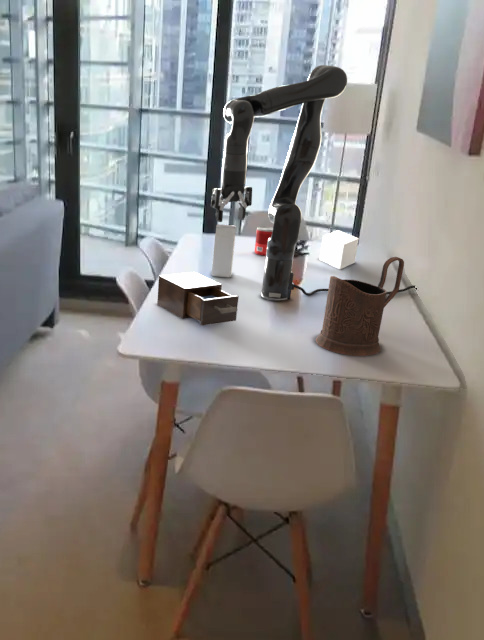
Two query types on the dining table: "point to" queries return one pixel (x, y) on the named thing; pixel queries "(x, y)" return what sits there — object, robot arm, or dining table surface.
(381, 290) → the cup holder
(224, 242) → the milk carton
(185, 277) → the cabinet
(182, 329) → the dining table surface
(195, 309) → the drawer
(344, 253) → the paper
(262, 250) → the canned food
